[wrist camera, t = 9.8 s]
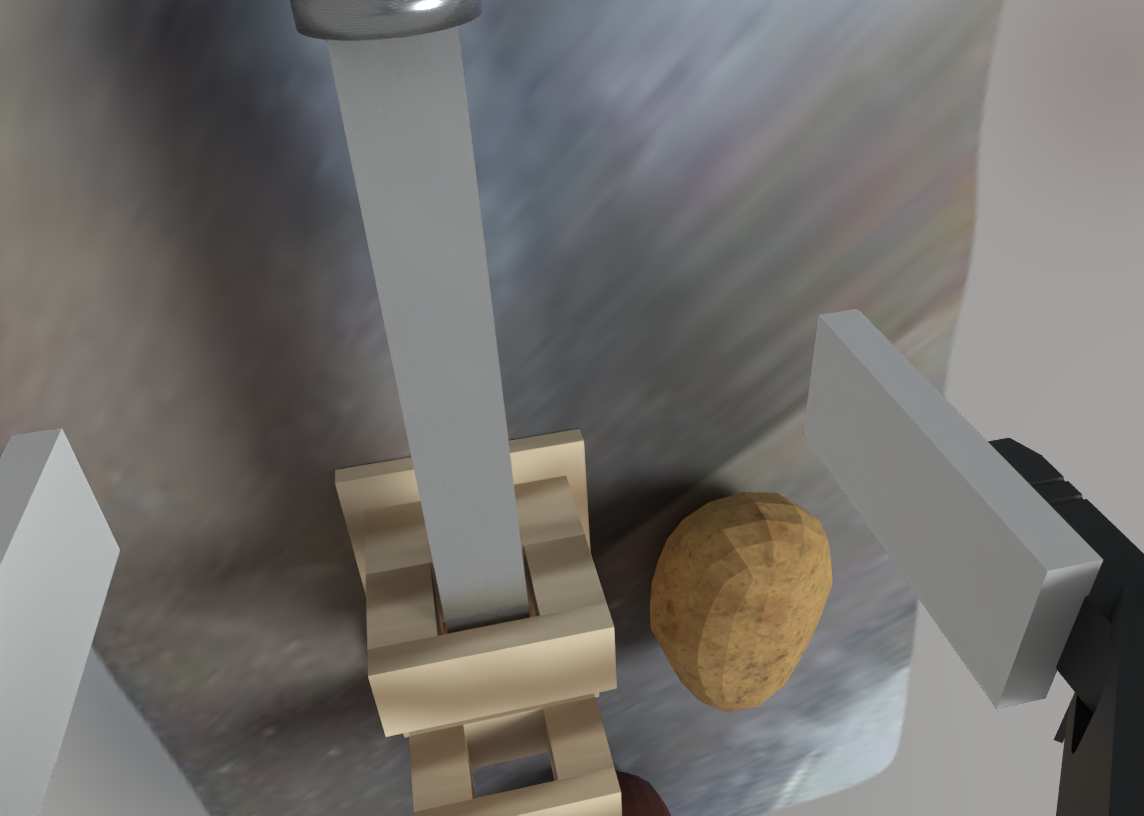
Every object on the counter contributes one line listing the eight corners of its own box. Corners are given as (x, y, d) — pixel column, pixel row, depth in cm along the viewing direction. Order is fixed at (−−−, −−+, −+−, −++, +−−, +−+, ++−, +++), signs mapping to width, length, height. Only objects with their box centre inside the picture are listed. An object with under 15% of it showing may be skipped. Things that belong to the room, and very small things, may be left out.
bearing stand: (335, 469, 43) (331, 647, 34) (579, 428, 44) (637, 588, 35) (403, 723, 54) (414, 905, 45) (595, 683, 56) (642, 851, 47)
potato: (623, 641, 54) (660, 756, 48) (639, 458, 46) (686, 566, 40) (773, 619, 56) (828, 727, 49) (814, 440, 48) (886, 540, 41)
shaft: (290, -36, 26) (280, -2, 22) (466, -52, 27) (488, -23, 23) (425, 585, 41) (433, 675, 37) (535, 565, 42) (555, 650, 38)
